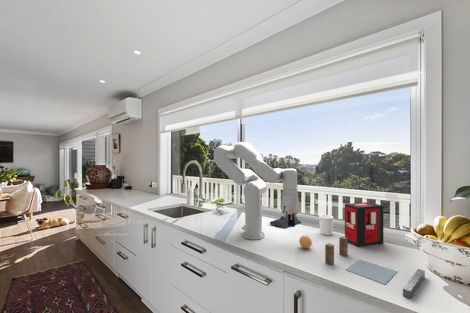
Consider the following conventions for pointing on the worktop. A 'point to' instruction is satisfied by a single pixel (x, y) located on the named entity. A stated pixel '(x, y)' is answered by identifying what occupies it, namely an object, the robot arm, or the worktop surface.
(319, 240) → the worktop surface
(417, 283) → the wall
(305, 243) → the ball
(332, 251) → the post
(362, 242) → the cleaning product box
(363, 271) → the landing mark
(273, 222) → the dark slate chunk
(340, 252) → the post
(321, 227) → the white cup
